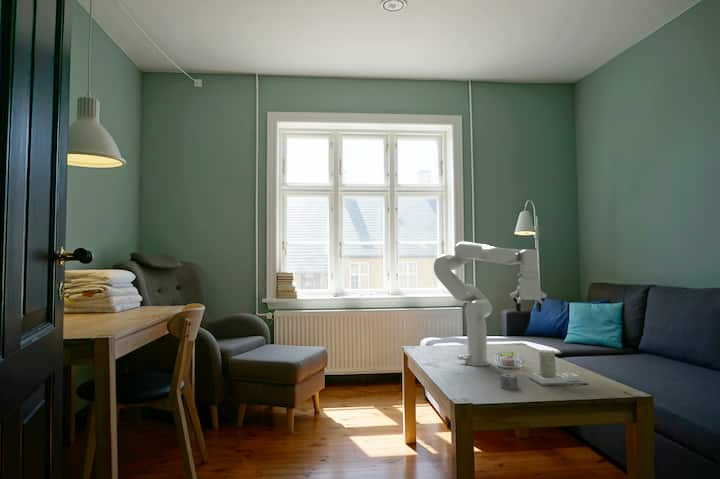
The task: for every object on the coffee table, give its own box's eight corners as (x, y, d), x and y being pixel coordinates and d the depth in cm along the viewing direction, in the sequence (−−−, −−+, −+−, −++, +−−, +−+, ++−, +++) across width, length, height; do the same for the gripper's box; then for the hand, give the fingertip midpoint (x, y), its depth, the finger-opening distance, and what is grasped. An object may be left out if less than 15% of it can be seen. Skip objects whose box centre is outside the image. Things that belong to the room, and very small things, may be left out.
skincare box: (555, 379, 199) (554, 350, 199) (556, 381, 195) (555, 352, 195) (539, 378, 201) (538, 349, 201) (540, 380, 197) (539, 351, 197)
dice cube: (505, 385, 193) (504, 373, 193) (517, 387, 190) (516, 375, 190) (500, 388, 189) (500, 376, 189) (513, 390, 186) (512, 377, 186)
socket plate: (542, 386, 191) (541, 379, 191) (528, 378, 203) (528, 372, 203) (588, 384, 193) (588, 377, 193) (572, 377, 205) (572, 370, 205)
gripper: (513, 275, 216) (513, 312, 215) (550, 276, 217) (550, 312, 216) (507, 275, 223) (507, 310, 223) (542, 275, 224) (542, 310, 224)
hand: (528, 311), depth 220 cm, fingers open, 9 cm apart
